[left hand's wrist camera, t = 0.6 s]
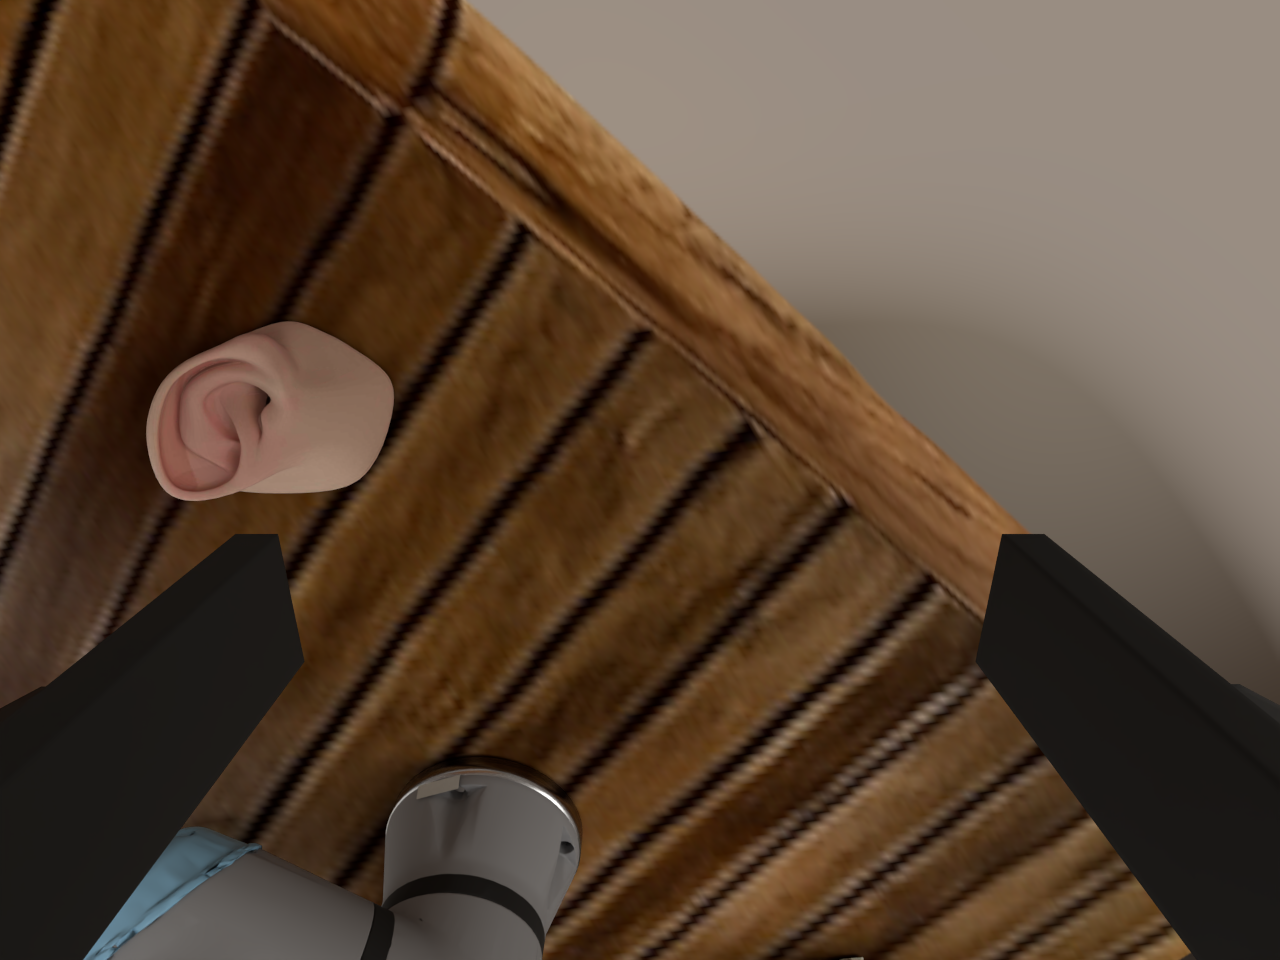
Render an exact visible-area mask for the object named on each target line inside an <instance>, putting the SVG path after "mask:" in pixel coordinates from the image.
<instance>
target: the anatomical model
mask: <svg viewBox="0 0 1280 960" xmlns="http://www.w3.org/2000/svg"><path fill="white" fill-rule="evenodd" d="M393 404H394V391H393V386H392V383H391V381H390V379H389V377H388V375H387V374H386V373H385V372H384V371H383V370H382V369H381V368H380V367H379V366H378V365H376V364H375V363H374V362H373V361H371V360H370V359H369V358H367V357H366V356H364V355H363V354H361V353H360V352H358V351H356V350H355V349H353V348H352V347H350V346H349V345H347V344H345V343H344V342H342V341H340V340H339V339H337V338H335V337H333V336H331V335H329V334H327V333H324V332H322V331H320V330H318V329H316V328H313V327H311V326H309V325H306V324H303V323H299V322H293V321H286V322H279V323H275V324H271V325H268V326H265V327H262V328H259V329H256V330H254V331H252V332H249V333H246V334H242V335H240V336H237V337H235V338H233V339H231V340H229V341H227V342H225V343H223V344H221V345H218V346H216V347H214V348H211V349H209V350H207V351H204V352H202V353H200V354H198V355H196V356H194V357H192V358H190V359H188V360H186V361H185V362H183V363H182V364H180V365H179V366H177V367H176V368H175V369H174V370H173V371H172V372H170V373H169V374H168V375H167V377H166V378H165V379H164V380H163V382H162V383H161V385H160V386H159V388H158V390H157V392H156V394H155V396H154V399H153V401H152V404H151V407H150V410H149V415H148V419H147V429H146V437H147V446H148V452H149V457H150V461H151V465H152V468H153V470H154V473H155V475H156V478H157V480H158V481H159V483H160V485H161V486H162V487H163V489H164V490H165V491H166V492H167V493H169V494H170V495H172V496H174V497H176V498H179V499H183V500H189V501H199V500H208V499H213V498H218V497H222V496H226V495H229V494H232V493H235V492H238V491H244V492H255V493H309V492H321V491H328V490H334V489H338V488H342V487H346V486H348V485H350V484H352V483H354V482H356V481H357V480H359V479H360V478H361V477H362V476H363V475H365V474H366V472H367V471H368V470H369V469H370V468H371V466H372V465H373V463H374V461H375V460H376V458H377V456H378V454H379V452H380V450H381V448H382V446H383V443H384V440H385V437H386V434H387V432H388V428H389V424H390V420H391V417H392V411H393Z"/></svg>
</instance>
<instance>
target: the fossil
mask: <svg viewBox="0 0 1280 960" xmlns="http://www.w3.org/2000/svg"><path fill="white" fill-rule="evenodd" d="M841 960H864V959H863V957H859V958H844V959H841Z"/></svg>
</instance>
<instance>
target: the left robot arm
mask: <svg viewBox="0 0 1280 960" xmlns="http://www.w3.org/2000/svg"><path fill="white" fill-rule="evenodd" d="M303 663H304V657H303V652H302V648H301V643H300V638H299V633H298V628H297V624H296V619H295V614H294V609H293V604H292V600H291V595H290V590H289V585H288V580H287V576H286V571H285V566H284V561H283V556H282V552H281V547H280V542H279V537H278V534H235V535H234V536H233V537H231V538H230V539H229V540H228V541H226V542H225V543H224V544H223V545H221V546H220V547H219V548H218V549H217V550H215V551H214V552H213V553H212V554H210V555H209V556H208V557H207V558H205V559H204V560H203V561H202V562H200V563H199V564H198V565H197V566H195V567H194V568H193V569H192V570H190V571H189V572H188V573H187V574H185V575H184V576H183V577H182V578H180V579H179V580H178V581H177V582H175V583H174V584H173V585H172V586H171V587H169V588H168V589H167V590H166V591H164V592H163V593H162V594H161V595H159V596H158V597H157V598H156V599H154V600H153V601H152V602H151V603H149V604H148V605H147V606H146V607H144V608H143V609H142V610H141V611H139V612H138V613H137V614H136V615H134V616H133V617H132V618H131V619H129V620H128V621H127V622H126V623H124V624H123V625H122V626H121V627H120V628H118V629H117V630H116V631H115V632H113V633H112V634H111V635H110V636H108V637H107V638H106V639H105V640H103V641H102V642H101V643H100V644H98V645H97V646H96V647H95V648H93V649H92V650H91V651H90V652H88V653H87V654H86V655H85V656H83V657H82V658H81V659H80V660H78V661H77V662H76V663H75V664H74V665H72V666H71V667H70V668H69V669H67V670H66V671H65V672H64V673H62V674H61V675H60V676H59V677H57V678H56V679H55V680H54V681H52V682H51V683H50V684H49V685H47V686H46V687H40V688H38V689H36V690H34V691H32V692H30V693H28V694H27V695H25V696H23V697H21V698H19V699H17V700H15V701H13V702H12V703H10V704H8V705H6V706H4V707H2V708H0V960H542V956H543V949H544V942H545V936H546V933H547V931H548V929H549V927H550V925H551V923H552V921H553V918H554V916H555V914H556V912H557V910H558V908H559V906H560V904H561V902H562V900H563V898H564V896H565V894H566V892H567V890H568V888H569V886H570V884H571V882H572V879H573V877H574V875H575V873H576V871H577V868H578V865H579V861H580V854H581V844H582V824H581V819H580V816H579V813H578V811H577V809H576V807H575V805H574V804H573V802H572V800H571V799H570V798H569V796H568V795H567V794H566V793H565V792H564V791H563V790H562V789H561V788H560V787H559V786H558V785H557V784H556V783H555V782H554V781H552V780H551V779H549V778H548V777H547V776H545V775H543V774H541V773H540V772H538V771H536V770H534V769H532V768H530V767H527V766H525V765H522V764H519V763H516V762H513V761H508V760H504V759H498V758H491V757H466V758H458V759H453V760H449V761H445V762H442V763H439V764H436V765H434V766H432V767H429V768H428V769H426V770H424V771H422V772H421V773H419V774H418V775H417V776H415V777H414V778H413V779H412V780H411V781H410V782H409V783H408V784H407V785H406V786H405V787H404V788H403V790H402V791H401V793H400V795H399V797H398V799H397V801H396V803H395V806H394V808H393V810H392V813H391V815H390V818H389V821H388V823H387V828H386V839H385V863H384V890H383V904H382V906H379V905H377V904H375V903H373V902H371V901H369V900H367V899H365V898H362V897H360V896H358V895H356V894H354V893H352V892H349V891H347V890H345V889H343V888H341V887H339V886H337V885H335V884H333V883H331V882H329V881H327V880H325V879H322V878H320V877H318V876H316V875H314V874H312V873H310V872H308V871H306V870H304V869H302V868H300V867H298V866H295V865H293V864H291V863H289V862H287V861H285V860H283V859H281V858H279V857H277V856H275V855H273V854H271V853H268V852H266V851H264V850H262V846H261V845H259V844H257V843H249V844H246V843H243V842H241V841H238V840H236V839H233V838H231V837H228V836H226V835H223V834H221V833H218V832H216V831H213V830H211V829H208V828H205V827H187V828H183V829H181V827H182V826H183V825H184V823H185V822H186V821H187V819H188V818H189V817H190V815H191V814H192V813H193V811H194V810H195V808H196V807H197V806H198V804H199V803H200V802H201V800H202V799H203V798H204V796H205V795H206V794H207V792H208V791H209V790H210V788H211V787H212V786H213V784H214V783H215V781H216V780H217V779H218V777H219V776H220V775H221V773H222V772H223V771H224V769H225V768H226V767H227V765H228V764H229V763H230V761H231V760H232V759H233V757H234V756H235V755H236V753H237V752H238V750H239V749H240V748H241V746H242V745H243V744H244V742H245V741H246V740H247V738H248V737H249V736H250V734H251V733H252V732H253V730H254V729H255V728H256V726H257V725H258V723H259V722H260V721H261V719H262V718H263V717H264V715H265V714H266V713H267V711H268V710H269V709H270V707H271V706H272V705H273V703H274V702H275V701H276V699H277V698H278V697H279V695H280V694H281V692H282V691H283V690H284V688H285V687H286V686H287V684H288V683H289V682H290V680H291V679H292V678H293V676H294V675H295V674H296V672H297V671H298V670H299V668H300V667H301V665H302V664H303ZM976 663H977V664H978V665H979V667H980V668H981V670H982V671H983V672H984V674H985V675H986V676H987V678H988V679H989V680H990V682H991V683H992V684H993V686H994V687H995V688H996V690H997V691H998V692H999V694H1000V695H1001V697H1002V698H1003V699H1004V701H1005V702H1006V703H1007V705H1008V706H1009V707H1010V709H1011V710H1012V711H1013V713H1014V714H1015V715H1016V717H1017V718H1018V719H1019V721H1020V722H1021V723H1022V725H1023V726H1024V728H1025V729H1026V730H1027V732H1028V733H1029V734H1030V736H1031V737H1032V738H1033V740H1034V741H1035V742H1036V744H1037V745H1038V746H1039V748H1040V749H1041V750H1042V752H1043V753H1044V755H1045V756H1046V757H1047V759H1048V760H1049V761H1050V763H1051V764H1052V765H1053V767H1054V768H1055V769H1056V771H1057V772H1058V773H1059V775H1060V776H1061V777H1062V779H1063V780H1064V781H1065V783H1066V784H1067V786H1068V787H1069V788H1070V790H1071V791H1072V792H1073V794H1074V795H1075V796H1076V798H1077V799H1078V800H1079V802H1080V803H1081V804H1082V806H1083V807H1084V808H1085V810H1086V811H1087V813H1088V814H1089V815H1090V817H1091V818H1092V819H1093V821H1094V822H1095V823H1096V825H1097V826H1098V827H1099V829H1100V830H1101V831H1102V833H1103V834H1104V835H1105V837H1106V838H1107V840H1108V841H1109V842H1110V844H1111V845H1112V846H1113V848H1114V849H1115V850H1116V852H1117V853H1118V854H1119V856H1120V857H1121V858H1122V860H1123V861H1124V862H1125V864H1126V865H1127V866H1128V868H1129V869H1130V871H1131V872H1132V873H1133V875H1134V876H1135V877H1136V879H1137V880H1138V881H1139V883H1140V884H1141V885H1142V887H1143V888H1144V889H1145V891H1146V892H1147V893H1148V895H1149V896H1150V898H1151V899H1152V900H1153V902H1154V903H1155V904H1156V906H1157V907H1158V908H1159V910H1160V911H1161V912H1162V914H1163V915H1164V916H1165V918H1166V919H1167V920H1168V922H1169V923H1170V924H1171V926H1172V927H1173V929H1174V930H1175V931H1176V933H1177V934H1178V935H1179V937H1180V938H1181V939H1182V941H1183V942H1184V943H1185V945H1186V946H1187V947H1188V949H1189V950H1190V951H1191V953H1192V954H1193V956H1194V957H1195V958H1196V960H1280V705H1278V704H1276V703H1274V702H1272V701H1270V700H1268V699H1267V698H1265V697H1263V696H1261V695H1259V694H1257V693H1255V692H1253V691H1251V690H1250V689H1248V688H1246V687H1244V686H1242V685H1240V684H1230V683H1229V682H1228V681H1226V680H1225V679H1224V678H1223V677H1221V676H1220V675H1219V674H1218V673H1216V672H1215V671H1214V670H1213V669H1211V668H1210V667H1209V666H1208V665H1206V664H1205V663H1204V662H1203V661H1201V660H1200V659H1199V658H1198V657H1197V656H1195V655H1194V654H1193V653H1192V652H1190V651H1189V650H1188V649H1187V648H1185V647H1184V646H1183V645H1181V644H1180V643H1179V642H1178V641H1177V640H1175V639H1174V638H1173V637H1172V636H1170V635H1169V634H1168V633H1167V632H1165V631H1164V630H1163V629H1162V628H1160V627H1159V626H1158V625H1157V624H1155V623H1154V622H1153V621H1152V620H1151V619H1149V618H1148V617H1147V616H1145V615H1144V614H1143V613H1142V612H1141V611H1139V610H1138V609H1137V608H1136V607H1134V606H1133V605H1132V604H1131V603H1129V602H1128V601H1127V600H1126V599H1124V598H1123V597H1122V596H1121V595H1119V594H1118V593H1117V592H1116V591H1114V590H1113V589H1112V588H1111V587H1109V586H1108V585H1107V584H1106V583H1104V582H1103V581H1102V580H1101V579H1100V578H1098V577H1097V576H1096V575H1095V574H1093V573H1092V572H1091V571H1090V570H1088V569H1087V568H1086V567H1085V566H1083V565H1082V564H1081V563H1080V562H1078V561H1077V560H1076V559H1075V558H1073V557H1072V556H1071V555H1070V554H1068V553H1067V552H1066V551H1065V550H1063V549H1062V548H1061V547H1060V546H1058V545H1057V544H1056V543H1055V542H1053V541H1052V540H1051V539H1050V538H1048V537H1047V536H1046V535H1045V534H1002V537H1001V542H1000V547H999V552H998V556H997V561H996V566H995V571H994V576H993V580H992V585H991V590H990V595H989V600H988V604H987V609H986V614H985V619H984V624H983V628H982V633H981V638H980V643H979V648H978V652H977V657H976ZM180 829H181V830H180Z"/></svg>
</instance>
